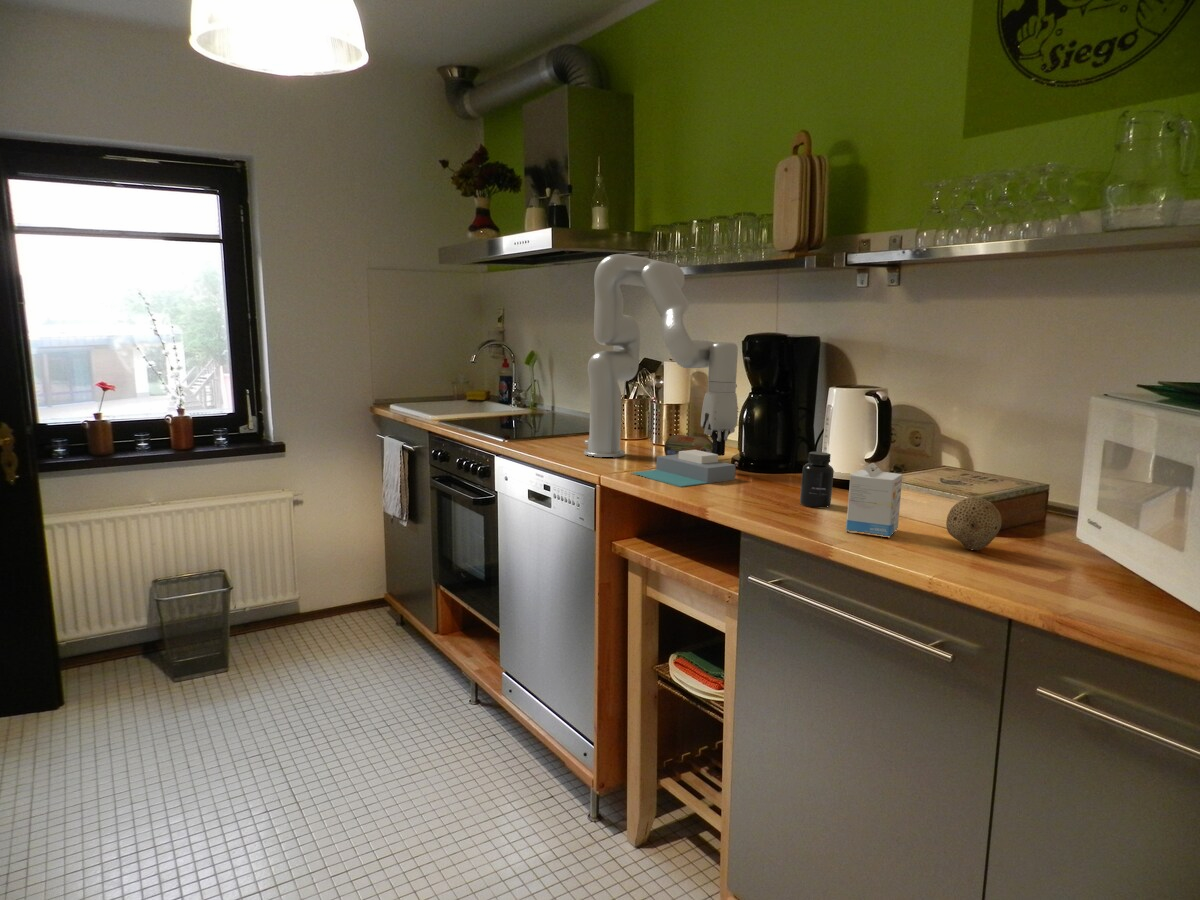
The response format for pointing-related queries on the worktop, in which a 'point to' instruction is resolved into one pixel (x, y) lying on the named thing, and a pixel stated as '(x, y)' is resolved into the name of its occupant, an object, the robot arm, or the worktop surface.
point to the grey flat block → (696, 469)
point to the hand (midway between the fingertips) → (718, 454)
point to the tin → (687, 444)
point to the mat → (669, 478)
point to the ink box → (874, 501)
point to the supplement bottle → (817, 480)
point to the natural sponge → (974, 522)
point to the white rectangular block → (698, 456)
